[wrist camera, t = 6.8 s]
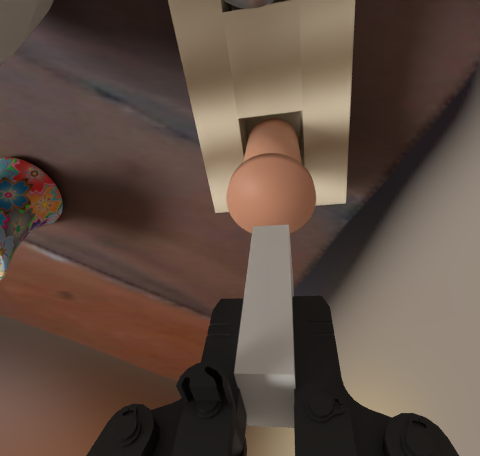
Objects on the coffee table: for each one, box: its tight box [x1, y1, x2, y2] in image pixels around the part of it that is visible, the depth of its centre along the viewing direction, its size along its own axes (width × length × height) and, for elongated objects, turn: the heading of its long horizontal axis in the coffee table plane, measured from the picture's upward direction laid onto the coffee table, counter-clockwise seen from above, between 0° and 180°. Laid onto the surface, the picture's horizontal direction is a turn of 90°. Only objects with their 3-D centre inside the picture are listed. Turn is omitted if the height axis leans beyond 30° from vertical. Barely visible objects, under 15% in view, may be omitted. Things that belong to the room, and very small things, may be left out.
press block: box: [168, 0, 355, 213], centre depth 23 cm, size 22×11×6 cm, turn 9°
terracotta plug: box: [226, 118, 316, 233], centre depth 21 cm, size 5×5×9 cm
